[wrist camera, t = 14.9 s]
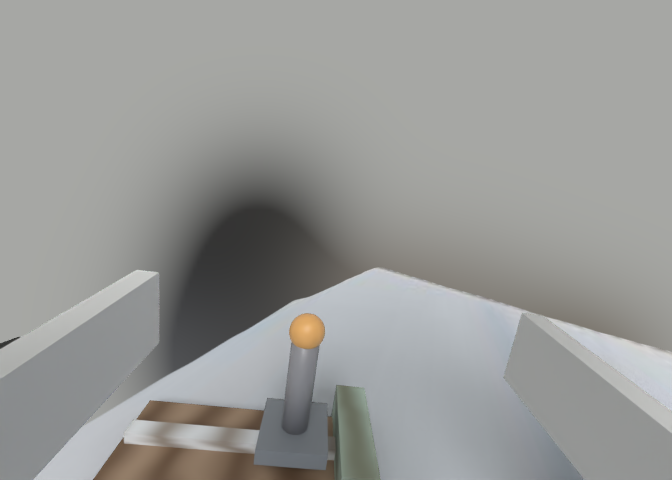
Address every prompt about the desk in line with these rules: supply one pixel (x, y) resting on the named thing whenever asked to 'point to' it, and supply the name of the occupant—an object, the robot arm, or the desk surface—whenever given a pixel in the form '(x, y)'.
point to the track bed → (199, 459)
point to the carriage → (297, 407)
